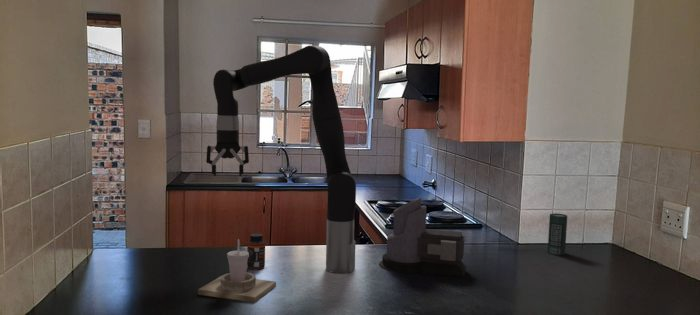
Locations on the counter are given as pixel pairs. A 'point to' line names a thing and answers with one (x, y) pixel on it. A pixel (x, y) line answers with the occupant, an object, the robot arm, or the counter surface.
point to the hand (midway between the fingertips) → (227, 175)
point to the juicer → (422, 245)
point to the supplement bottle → (256, 252)
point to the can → (557, 234)
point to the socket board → (239, 294)
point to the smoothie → (237, 264)
